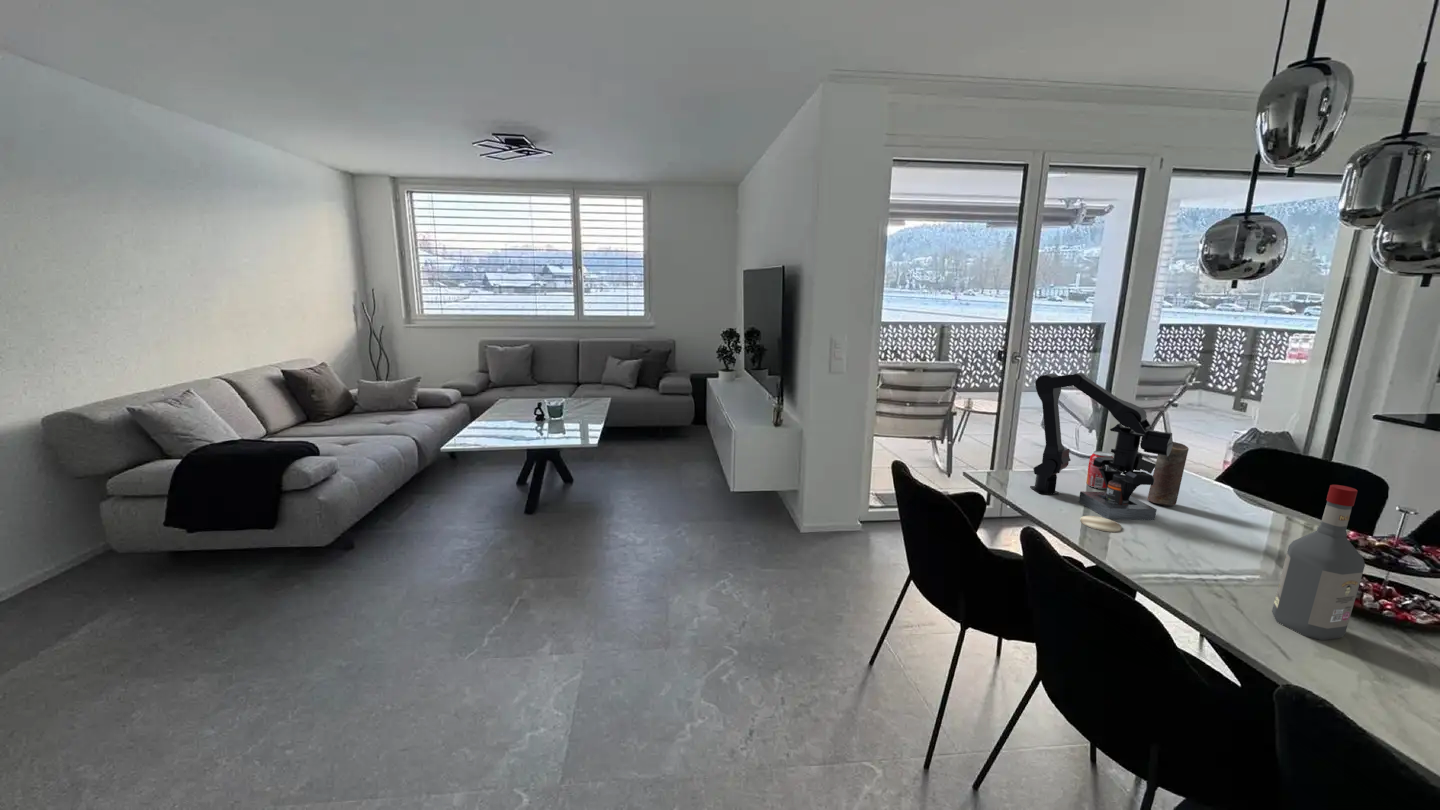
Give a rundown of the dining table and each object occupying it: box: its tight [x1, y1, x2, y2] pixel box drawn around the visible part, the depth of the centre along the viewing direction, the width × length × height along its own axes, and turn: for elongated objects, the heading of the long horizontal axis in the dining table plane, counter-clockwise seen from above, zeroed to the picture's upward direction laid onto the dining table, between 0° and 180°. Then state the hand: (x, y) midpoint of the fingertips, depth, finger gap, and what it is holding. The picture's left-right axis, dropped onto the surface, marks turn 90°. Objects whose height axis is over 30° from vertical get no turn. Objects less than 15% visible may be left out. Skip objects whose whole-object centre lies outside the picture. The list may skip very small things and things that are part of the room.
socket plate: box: [1078, 491, 1157, 521], centre depth 176 cm, size 14×14×4 cm
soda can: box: [1085, 450, 1114, 490], centre depth 197 cm, size 7×7×12 cm
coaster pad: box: [1079, 515, 1123, 533], centre depth 165 cm, size 10×10×1 cm
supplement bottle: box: [1105, 473, 1130, 505], centre depth 175 cm, size 6×6×11 cm
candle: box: [1146, 440, 1190, 507], centre depth 181 cm, size 8×7×20 cm
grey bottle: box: [1271, 484, 1366, 641], centre depth 114 cm, size 9×9×30 cm
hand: (1117, 496), depth 175 cm, fingers closed on supplement bottle, 6 cm apart
